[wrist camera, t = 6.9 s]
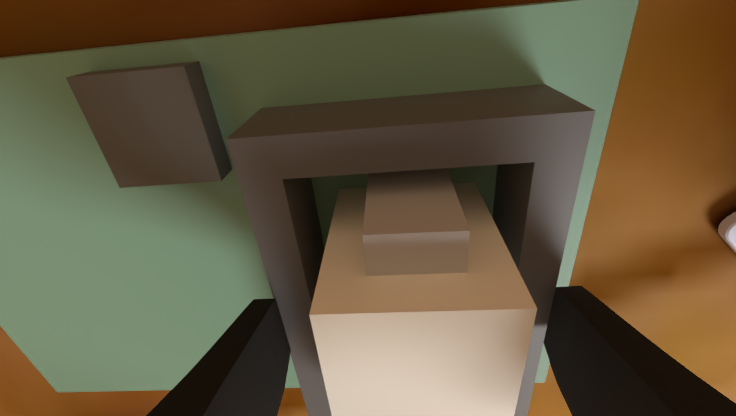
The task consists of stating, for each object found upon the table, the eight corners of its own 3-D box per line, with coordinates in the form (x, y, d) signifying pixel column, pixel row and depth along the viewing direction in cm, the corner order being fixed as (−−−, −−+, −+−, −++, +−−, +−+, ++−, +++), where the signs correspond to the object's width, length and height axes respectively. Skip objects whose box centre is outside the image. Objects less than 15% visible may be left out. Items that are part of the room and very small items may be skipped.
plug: (463, 325, 14) (501, 478, 9) (357, 328, 14) (345, 477, 9) (476, 149, 10) (546, 262, 6) (335, 157, 10) (299, 271, 6)
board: (615, -6, 9) (735, -9, 6) (536, 361, 16) (572, 447, 13) (-162, 74, 11) (-379, 103, 8) (73, 373, 18) (8, 450, 15)
